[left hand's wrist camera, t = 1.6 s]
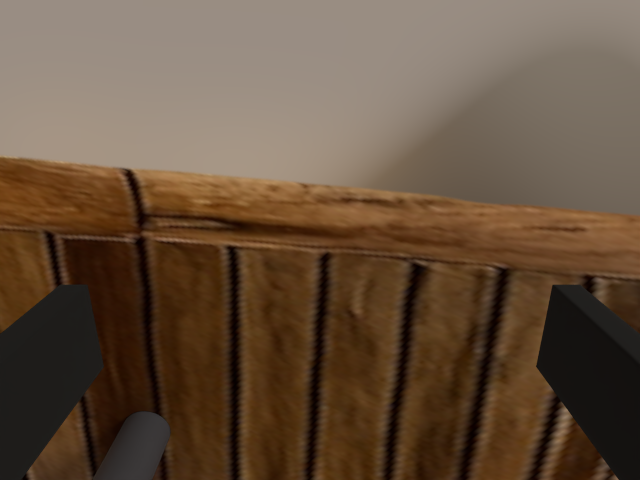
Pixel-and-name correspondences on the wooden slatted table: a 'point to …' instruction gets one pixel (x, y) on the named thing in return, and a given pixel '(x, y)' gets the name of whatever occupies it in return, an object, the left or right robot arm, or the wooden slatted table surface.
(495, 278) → the wooden slatted table surface
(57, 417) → the left robot arm
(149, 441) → the jar
